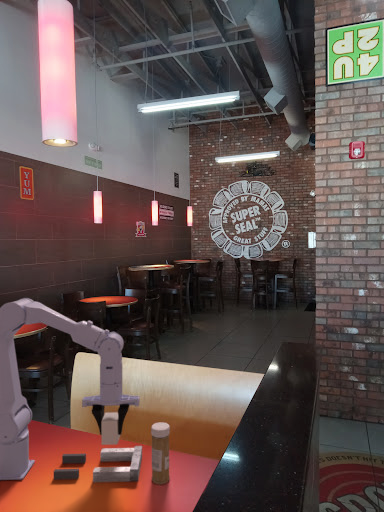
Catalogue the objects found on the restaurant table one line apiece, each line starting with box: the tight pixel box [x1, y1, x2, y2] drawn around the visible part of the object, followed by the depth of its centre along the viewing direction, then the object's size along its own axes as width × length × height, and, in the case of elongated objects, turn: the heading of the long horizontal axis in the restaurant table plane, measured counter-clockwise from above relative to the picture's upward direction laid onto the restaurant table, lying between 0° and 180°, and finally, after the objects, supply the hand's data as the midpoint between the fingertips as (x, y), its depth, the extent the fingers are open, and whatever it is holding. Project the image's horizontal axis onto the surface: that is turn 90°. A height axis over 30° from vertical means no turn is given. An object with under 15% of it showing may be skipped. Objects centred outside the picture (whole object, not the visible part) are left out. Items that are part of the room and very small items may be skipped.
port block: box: [92, 445, 143, 483], centre depth 96 cm, size 11×11×3 cm
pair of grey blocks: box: [53, 453, 87, 481], centre depth 96 cm, size 6×8×2 cm
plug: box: [101, 411, 121, 446], centre depth 96 cm, size 4×5×6 cm
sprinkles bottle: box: [150, 421, 171, 485], centre depth 92 cm, size 5×5×14 cm
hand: (111, 433), depth 96 cm, fingers closed on plug, 4 cm apart
